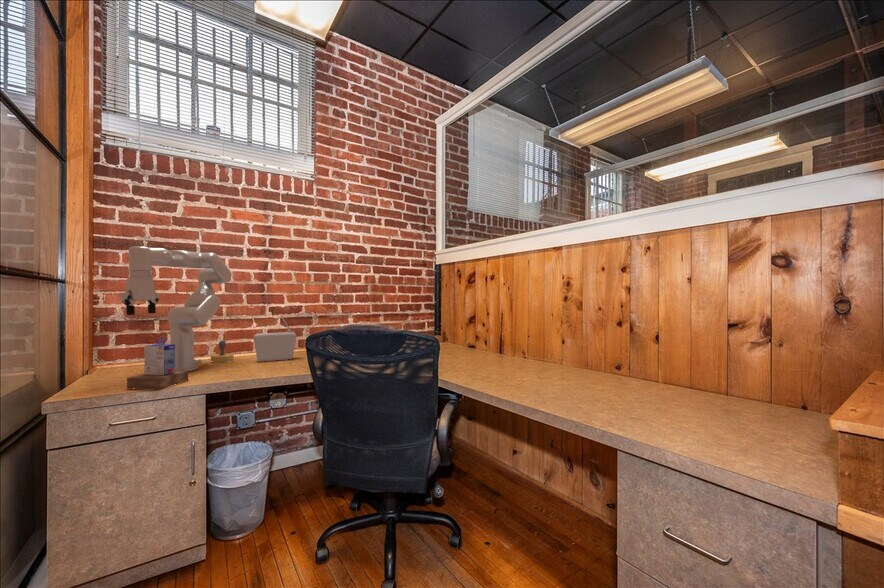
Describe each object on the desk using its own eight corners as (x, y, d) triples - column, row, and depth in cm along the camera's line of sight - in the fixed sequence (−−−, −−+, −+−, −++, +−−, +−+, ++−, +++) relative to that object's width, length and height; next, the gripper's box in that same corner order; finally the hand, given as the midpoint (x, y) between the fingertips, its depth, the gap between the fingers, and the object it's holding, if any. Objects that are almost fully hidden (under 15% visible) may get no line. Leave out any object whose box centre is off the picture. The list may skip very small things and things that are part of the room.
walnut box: (158, 381, 154) (158, 370, 154) (188, 382, 153) (188, 370, 153) (127, 390, 140) (127, 377, 140) (159, 391, 139) (159, 378, 139)
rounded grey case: (295, 357, 212) (295, 315, 212) (296, 359, 204) (296, 316, 204) (254, 360, 202) (254, 316, 202) (253, 362, 194) (253, 317, 195)
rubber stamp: (234, 360, 201) (233, 339, 201) (227, 362, 196) (226, 341, 196) (217, 360, 202) (217, 339, 202) (210, 362, 196) (210, 341, 196)
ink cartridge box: (176, 372, 149) (175, 338, 149) (164, 375, 144) (163, 340, 143) (156, 371, 151) (155, 338, 150) (143, 375, 145) (142, 340, 145)
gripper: (151, 275, 162) (152, 312, 163) (112, 274, 145) (113, 315, 145) (166, 275, 162) (166, 312, 162) (128, 274, 144) (129, 315, 145)
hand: (141, 314), depth 154 cm, fingers open, 9 cm apart
